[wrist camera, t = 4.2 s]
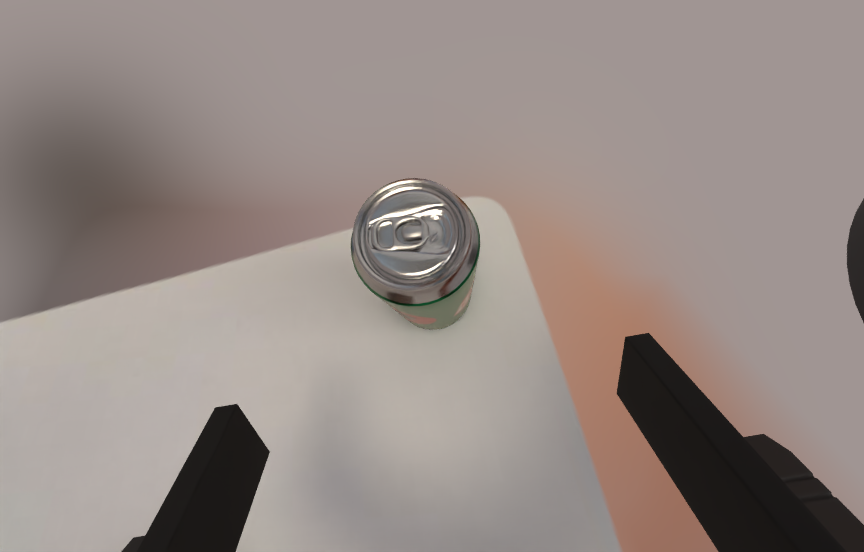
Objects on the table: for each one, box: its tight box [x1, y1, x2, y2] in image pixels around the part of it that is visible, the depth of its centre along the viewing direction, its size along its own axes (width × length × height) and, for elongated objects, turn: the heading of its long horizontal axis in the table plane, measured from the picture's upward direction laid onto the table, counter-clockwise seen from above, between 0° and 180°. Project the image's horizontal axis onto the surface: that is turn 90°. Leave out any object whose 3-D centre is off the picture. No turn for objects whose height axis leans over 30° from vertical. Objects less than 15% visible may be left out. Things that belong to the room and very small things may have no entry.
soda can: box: [351, 178, 480, 330], centre depth 19 cm, size 5×5×12 cm
